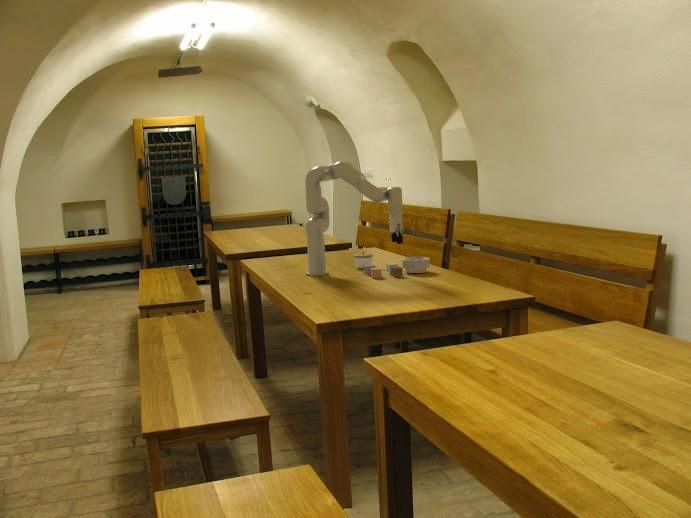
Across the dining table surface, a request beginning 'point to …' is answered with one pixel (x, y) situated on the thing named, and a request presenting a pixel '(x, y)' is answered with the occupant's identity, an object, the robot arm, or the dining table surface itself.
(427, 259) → the paper bowls
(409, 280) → the dining table surface
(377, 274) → the terracotta block
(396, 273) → the walnut block
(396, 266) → the sage block
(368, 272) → the slate block
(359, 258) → the lidded jar
